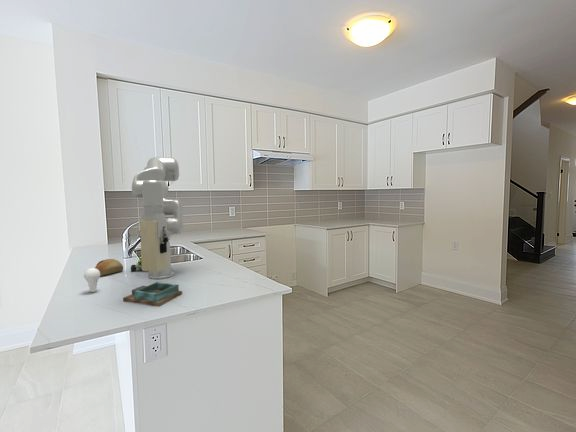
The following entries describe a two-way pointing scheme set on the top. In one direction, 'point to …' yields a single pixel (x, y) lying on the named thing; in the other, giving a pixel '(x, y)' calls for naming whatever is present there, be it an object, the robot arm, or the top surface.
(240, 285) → the top surface
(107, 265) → the bread roll
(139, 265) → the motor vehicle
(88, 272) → the lightbulb
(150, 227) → the beige long rectangular block
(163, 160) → the robot arm
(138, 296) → the board
